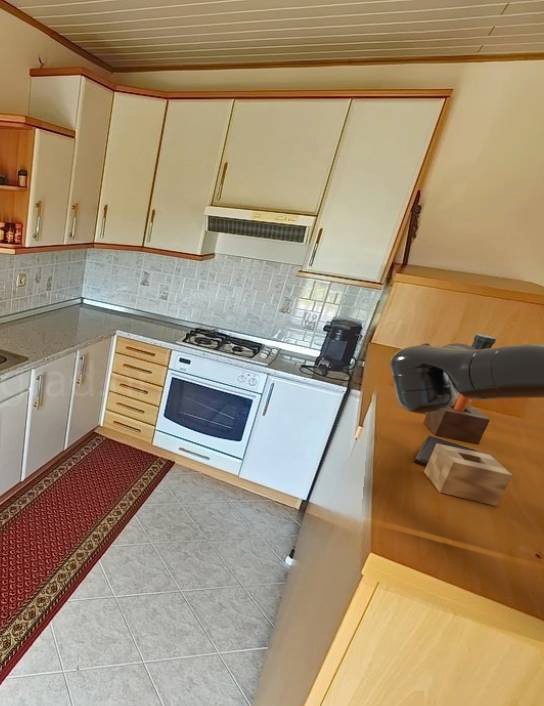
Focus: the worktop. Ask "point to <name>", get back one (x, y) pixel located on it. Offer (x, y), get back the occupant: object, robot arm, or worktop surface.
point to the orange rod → (461, 403)
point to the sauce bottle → (478, 343)
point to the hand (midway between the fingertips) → (472, 356)
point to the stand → (467, 474)
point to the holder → (458, 424)
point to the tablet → (429, 447)
